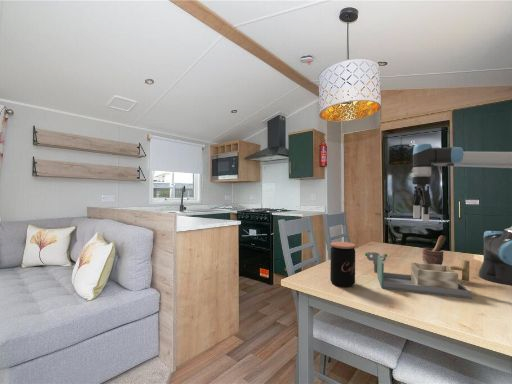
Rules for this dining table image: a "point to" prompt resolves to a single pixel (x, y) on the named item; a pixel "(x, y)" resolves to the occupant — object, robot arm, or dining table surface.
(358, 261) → the dining table surface
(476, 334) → the dining table surface
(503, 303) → the dining table surface
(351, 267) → the coffee jar
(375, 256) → the mechanical component
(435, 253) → the mortar and pestle
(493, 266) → the robot arm
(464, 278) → the crate
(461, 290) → the bay
